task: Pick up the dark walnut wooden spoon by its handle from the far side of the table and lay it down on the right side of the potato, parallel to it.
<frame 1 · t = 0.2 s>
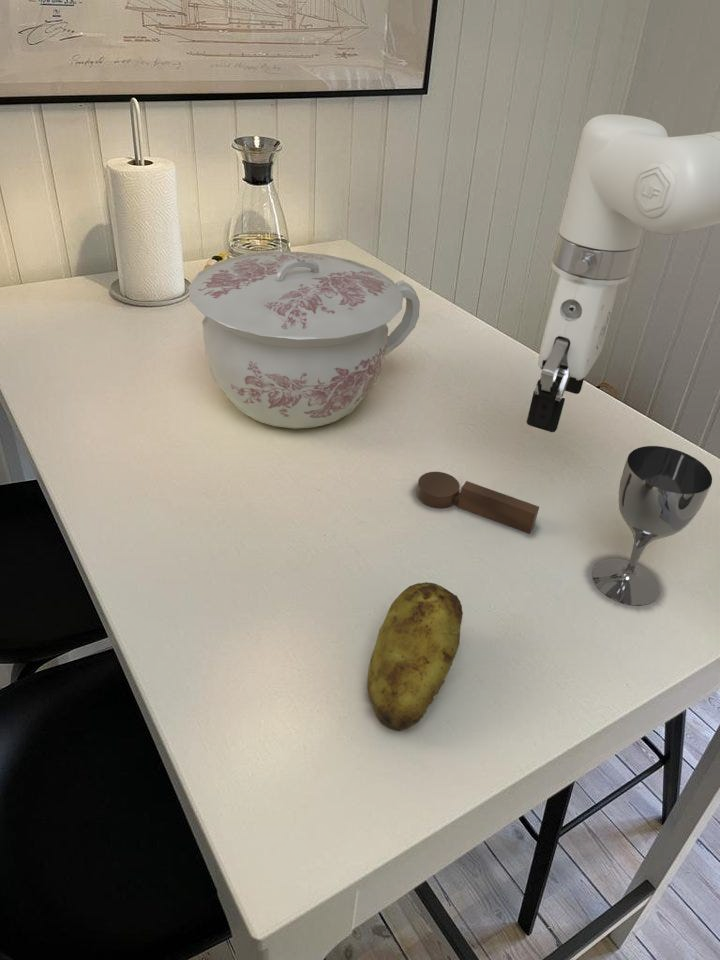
hand: (554, 407, 83), 13 cm above the table, tool pointing down, fingers open, 9 cm apart
wine glass: (625, 582, 81), on the table
potato: (406, 680, 69), on the table
wooden spoon: (471, 508, 90), on the table
chamber pot: (296, 403, 106), on the table
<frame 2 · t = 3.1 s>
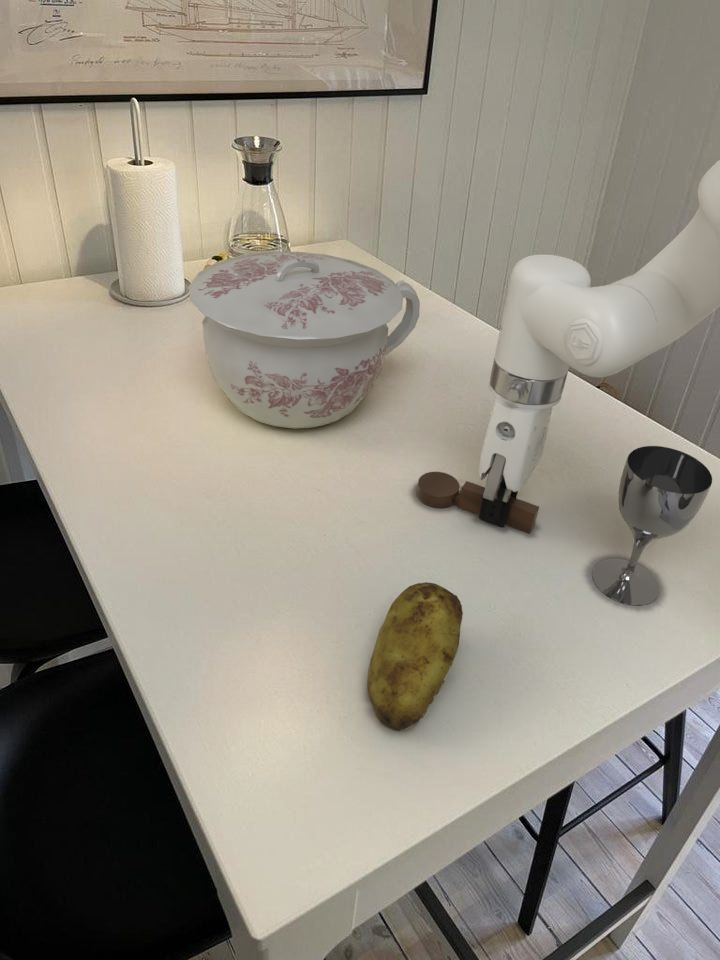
hand: (495, 515, 88), 0 cm above the table, tool pointing down, fingers closed on wooden spoon
wooden spoon: (471, 508, 90), on the table, touching gripper
everything else where it was.
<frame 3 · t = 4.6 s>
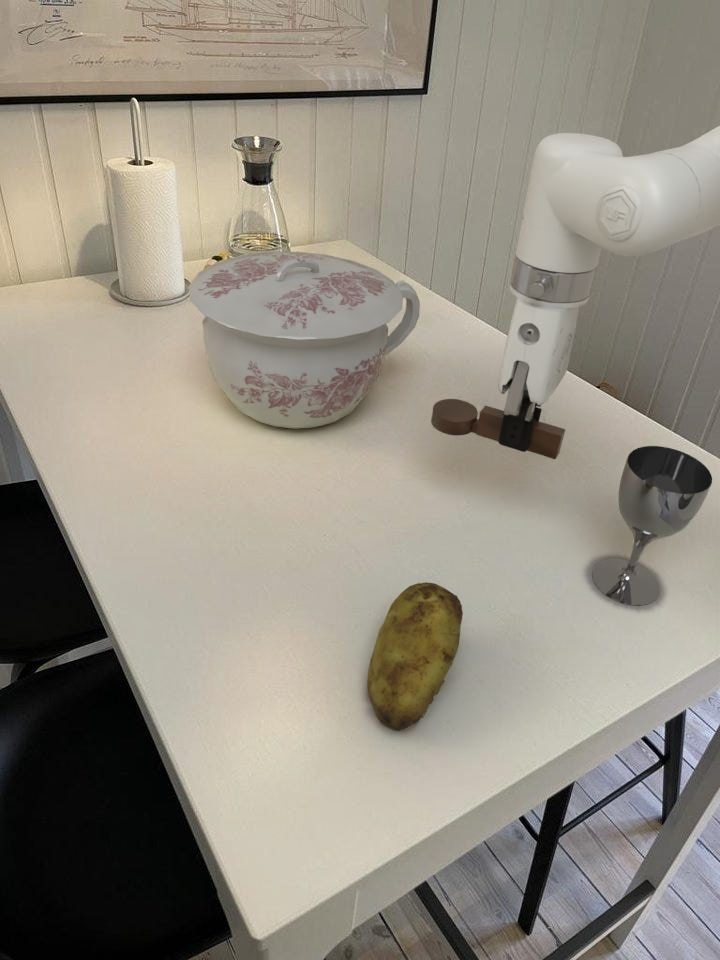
hand: (516, 441, 82), 11 cm above the table, tool pointing down, fingers closed on wooden spoon
wooden spoon: (491, 435, 83), point 11 cm above the table, touching gripper
everything else where it was.
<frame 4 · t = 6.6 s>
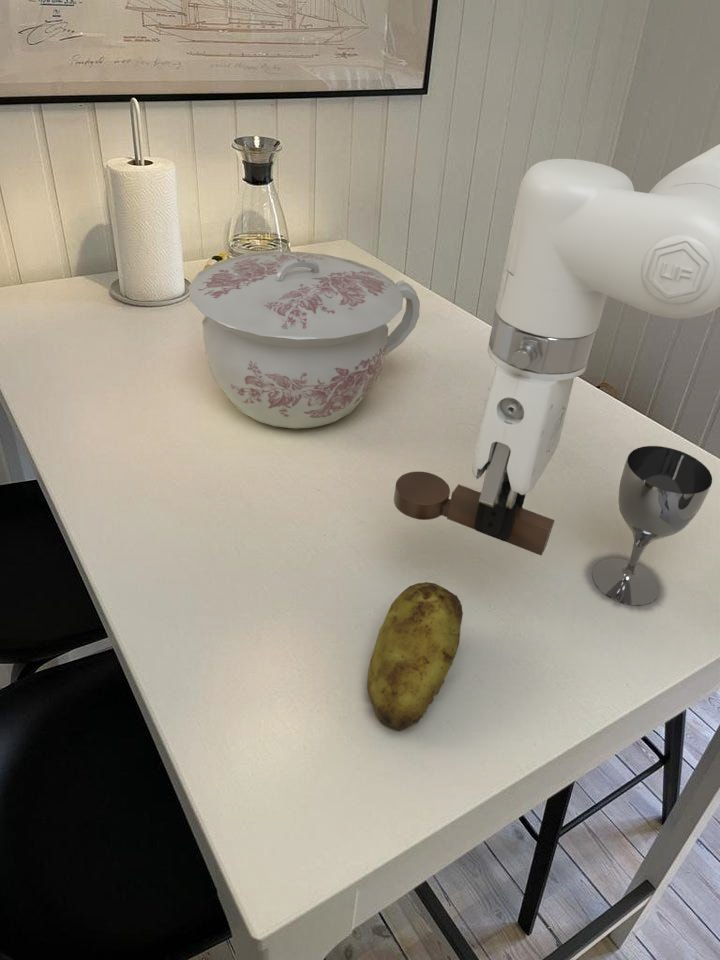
hand: (495, 526, 67), 13 cm above the table, tool pointing down, fingers closed on wooden spoon
wooden spoon: (465, 520, 69), point 12 cm above the table, touching gripper
everything else where it was.
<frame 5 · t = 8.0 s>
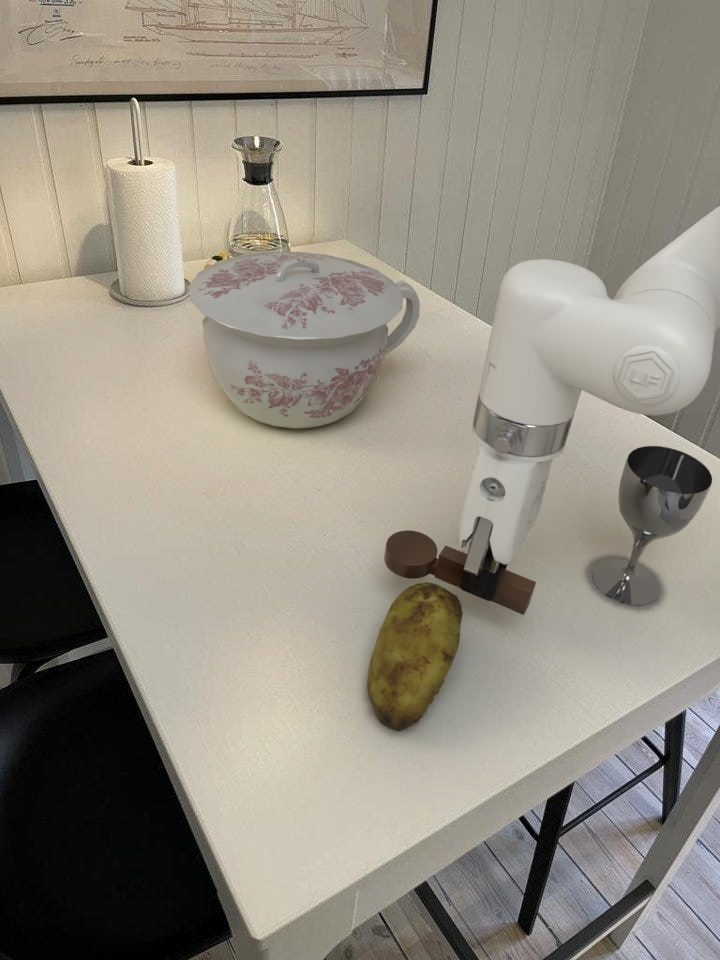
hand: (481, 585, 71), 6 cm above the table, tool pointing down, fingers closed on wooden spoon
wooden spoon: (451, 578, 72), point 5 cm above the table, touching gripper
everything else where it was.
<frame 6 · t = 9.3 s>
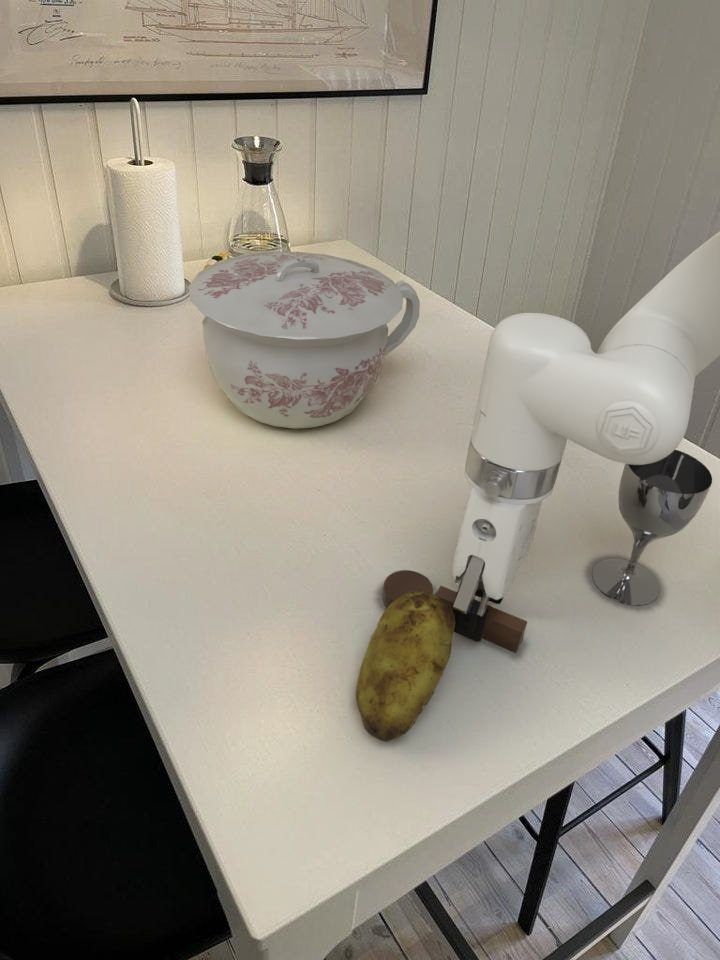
hand: (476, 614, 73), 2 cm above the table, tool pointing down, fingers open, 5 cm apart
potato: (397, 690, 68), on the table, touching gripper
wooden spoon: (447, 617, 75), on the table
everything else where it was.
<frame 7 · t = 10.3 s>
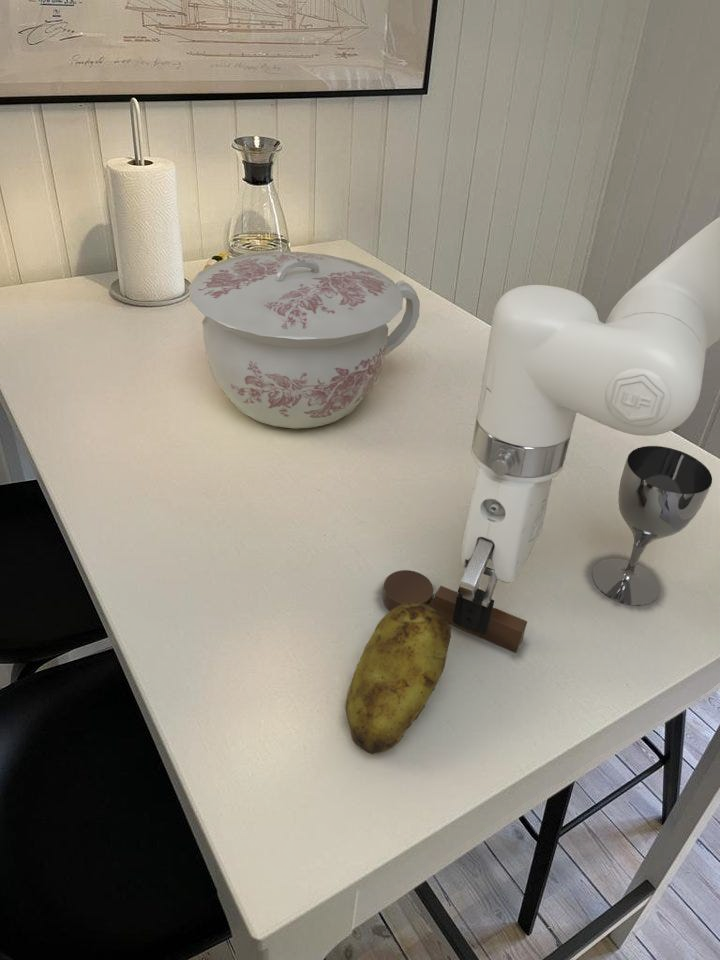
hand: (488, 594, 71), 5 cm above the table, tool pointing down, fingers open, 9 cm apart
potato: (390, 702, 67), on the table
everything else where it was.
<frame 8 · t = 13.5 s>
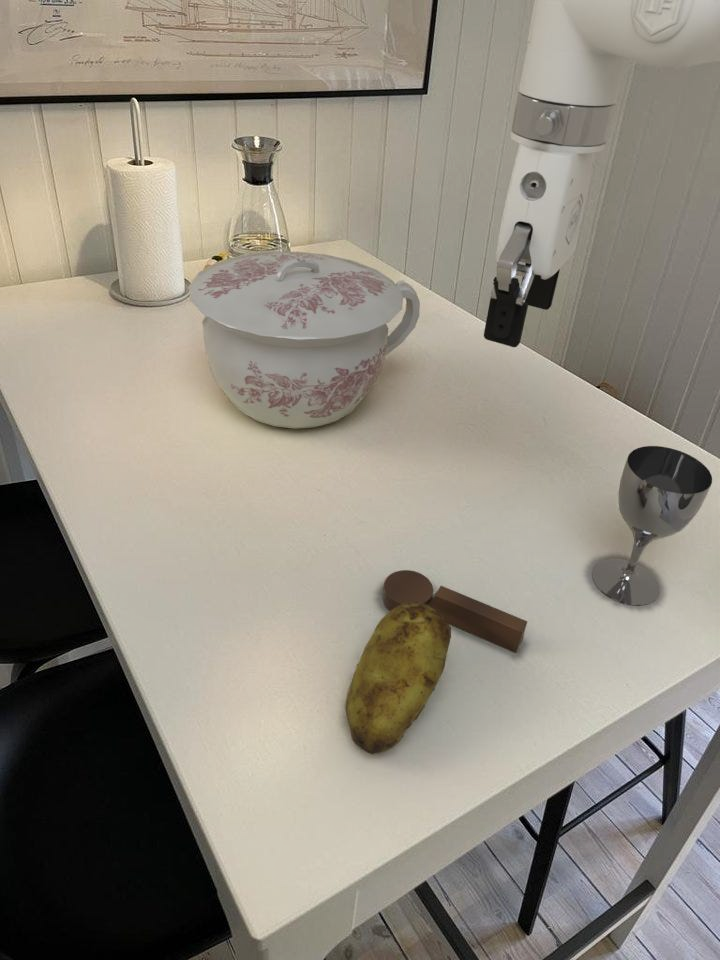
hand: (518, 322, 70), 26 cm above the table, tool pointing down, fingers open, 9 cm apart
nothing on the table moved.
at the end: wooden spoon inside the target area on the table beside the potato (2.8 cm from its centre), on the table; wooden spoon 12.0 cm from the potato (horizontally); the gripper is holding nothing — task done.
